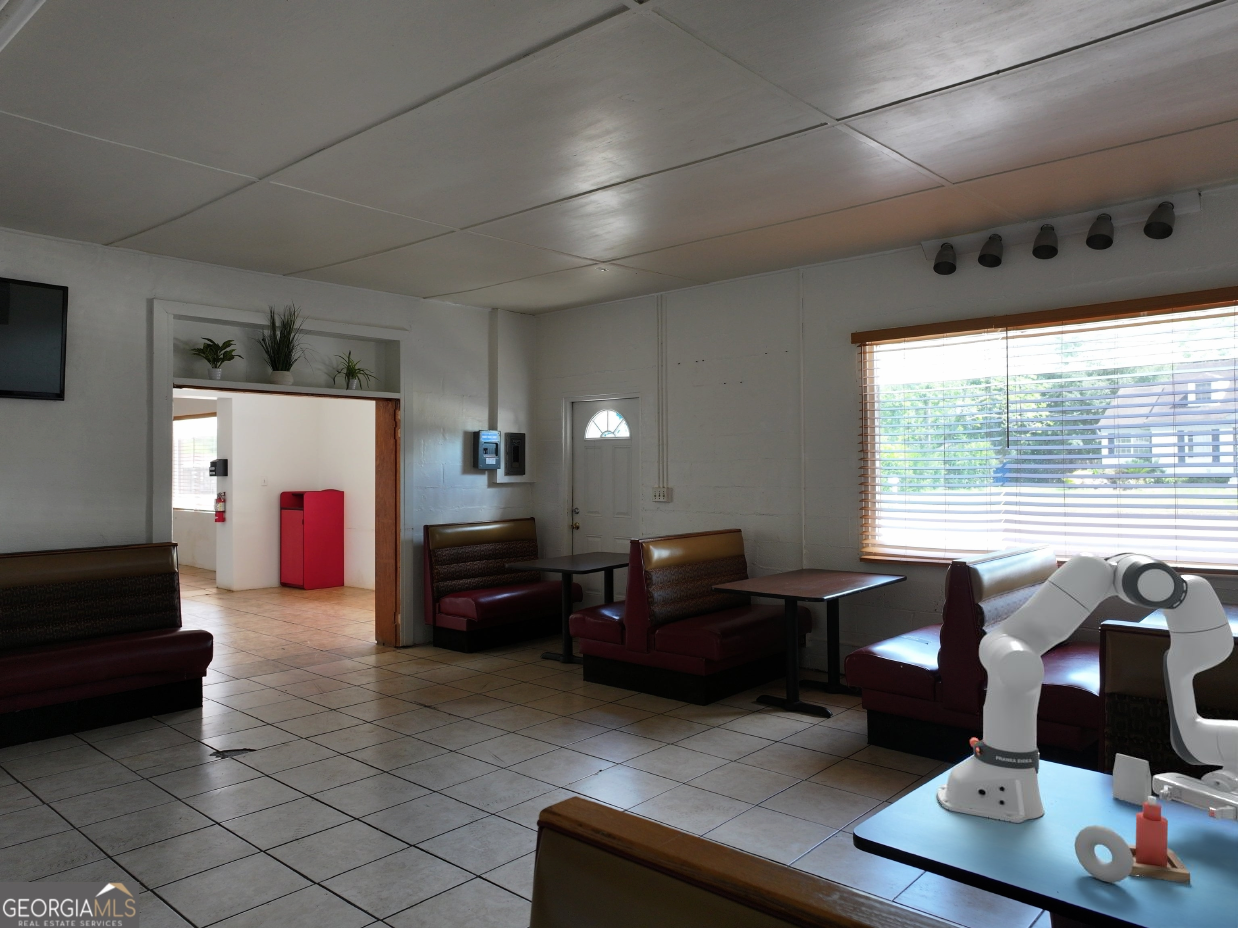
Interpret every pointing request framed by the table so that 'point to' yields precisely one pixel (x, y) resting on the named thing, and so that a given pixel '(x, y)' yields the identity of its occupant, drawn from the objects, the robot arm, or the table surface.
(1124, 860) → the donut
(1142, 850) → the ketchup bottle
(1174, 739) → the robot arm
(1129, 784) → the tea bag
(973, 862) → the table surface
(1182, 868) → the condiment tray
